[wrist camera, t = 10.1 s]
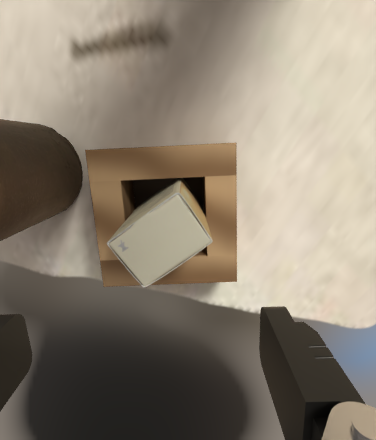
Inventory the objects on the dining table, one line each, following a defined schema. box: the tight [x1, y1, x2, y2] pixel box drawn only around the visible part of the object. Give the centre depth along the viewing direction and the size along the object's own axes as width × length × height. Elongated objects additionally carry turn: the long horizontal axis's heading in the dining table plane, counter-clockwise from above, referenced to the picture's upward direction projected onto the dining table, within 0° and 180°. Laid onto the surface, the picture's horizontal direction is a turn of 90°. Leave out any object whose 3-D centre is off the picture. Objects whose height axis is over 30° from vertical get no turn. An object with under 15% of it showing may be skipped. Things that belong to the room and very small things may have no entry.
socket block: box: [85, 143, 237, 287], centre depth 28 cm, size 13×13×5 cm
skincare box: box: [107, 178, 213, 287], centre depth 25 cm, size 6×4×12 cm
